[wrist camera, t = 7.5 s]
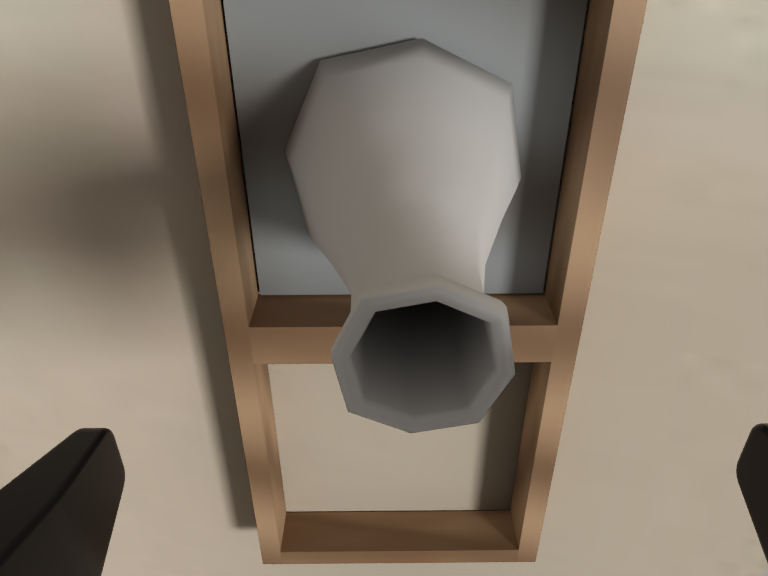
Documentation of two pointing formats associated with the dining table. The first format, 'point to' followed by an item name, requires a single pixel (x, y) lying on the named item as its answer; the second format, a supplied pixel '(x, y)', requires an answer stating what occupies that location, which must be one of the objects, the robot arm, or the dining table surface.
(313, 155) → the flask
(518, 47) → the caddy
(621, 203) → the dining table surface
